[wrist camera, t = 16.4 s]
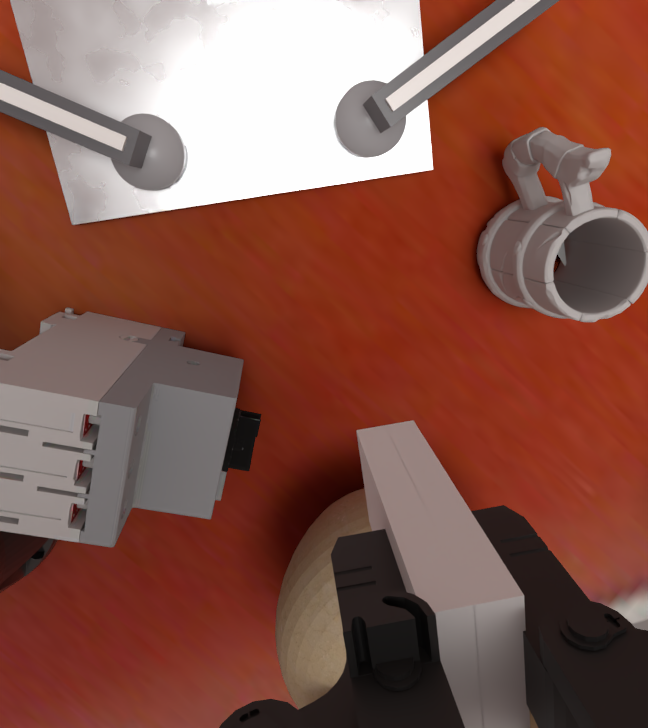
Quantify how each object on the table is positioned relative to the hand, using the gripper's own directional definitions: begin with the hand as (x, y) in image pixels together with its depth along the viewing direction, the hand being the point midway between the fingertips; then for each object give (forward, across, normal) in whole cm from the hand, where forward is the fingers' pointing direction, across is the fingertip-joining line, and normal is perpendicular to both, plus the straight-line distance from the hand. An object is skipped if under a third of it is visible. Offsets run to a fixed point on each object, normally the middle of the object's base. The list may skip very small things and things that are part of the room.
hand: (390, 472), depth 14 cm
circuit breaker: (+27, -12, -4) cm, 29 cm away
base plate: (+26, -3, +15) cm, 31 cm away
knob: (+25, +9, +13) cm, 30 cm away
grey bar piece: (+25, -13, +14) cm, 31 cm away
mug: (+27, +15, +3) cm, 31 cm away
